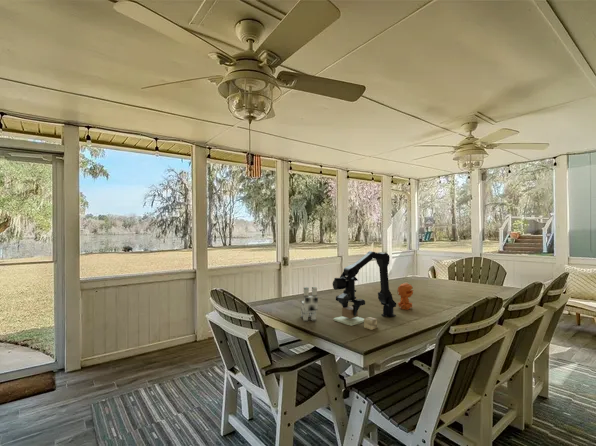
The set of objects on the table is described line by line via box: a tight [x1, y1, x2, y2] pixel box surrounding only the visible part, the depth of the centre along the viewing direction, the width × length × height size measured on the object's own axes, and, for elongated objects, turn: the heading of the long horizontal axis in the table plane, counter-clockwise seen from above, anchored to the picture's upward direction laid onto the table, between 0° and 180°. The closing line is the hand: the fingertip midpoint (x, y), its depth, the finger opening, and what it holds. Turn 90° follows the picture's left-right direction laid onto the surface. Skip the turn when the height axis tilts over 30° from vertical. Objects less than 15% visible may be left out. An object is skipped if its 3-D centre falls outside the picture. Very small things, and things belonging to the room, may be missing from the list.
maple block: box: [363, 316, 378, 331], centre depth 173 cm, size 5×5×5 cm
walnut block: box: [341, 305, 359, 319], centre depth 186 cm, size 6×6×5 cm
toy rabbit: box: [300, 286, 319, 322], centre depth 190 cm, size 8×18×20 cm, turn 10°
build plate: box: [332, 315, 365, 326], centre depth 186 cm, size 14×14×1 cm
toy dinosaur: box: [396, 282, 414, 311], centre depth 214 cm, size 11×11×18 cm
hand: (350, 314), depth 186 cm, fingers closed on walnut block, 6 cm apart
